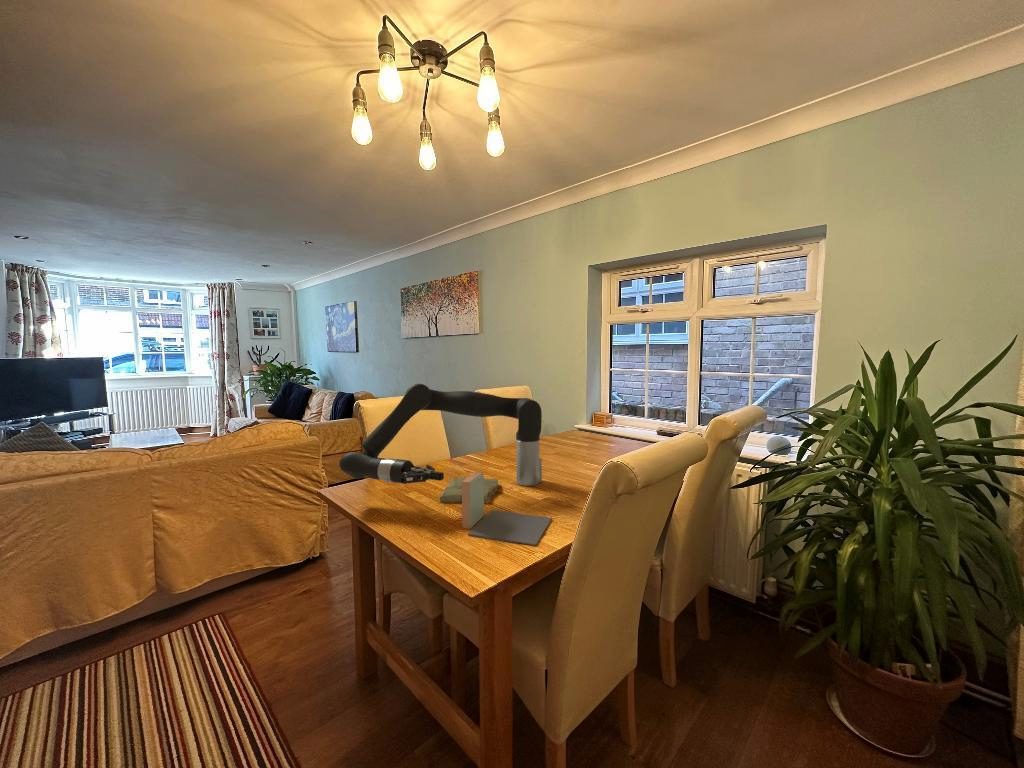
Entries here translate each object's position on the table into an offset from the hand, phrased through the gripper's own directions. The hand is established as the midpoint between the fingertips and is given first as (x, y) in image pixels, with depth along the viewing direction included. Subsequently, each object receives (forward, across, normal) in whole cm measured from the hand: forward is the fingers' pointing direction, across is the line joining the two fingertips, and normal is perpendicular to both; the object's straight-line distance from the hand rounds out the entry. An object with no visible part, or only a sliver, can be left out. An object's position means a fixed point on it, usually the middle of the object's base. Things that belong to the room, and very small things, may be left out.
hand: (442, 476), depth 126 cm
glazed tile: (+10, 0, +13) cm, 17 cm away
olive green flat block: (-1, +23, +14) cm, 26 cm away
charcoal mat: (+23, 0, +13) cm, 26 cm away
